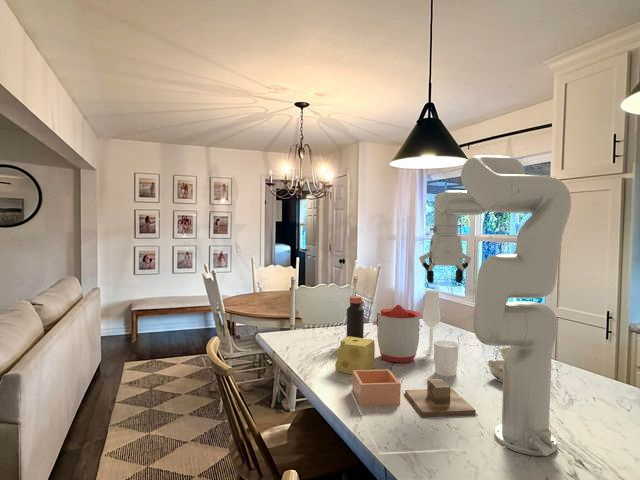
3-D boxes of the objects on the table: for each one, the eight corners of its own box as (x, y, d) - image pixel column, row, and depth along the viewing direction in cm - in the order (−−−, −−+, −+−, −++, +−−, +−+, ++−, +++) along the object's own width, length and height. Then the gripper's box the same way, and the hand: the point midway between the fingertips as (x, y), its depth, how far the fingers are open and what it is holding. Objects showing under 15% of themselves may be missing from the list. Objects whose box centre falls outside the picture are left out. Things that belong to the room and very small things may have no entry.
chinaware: (498, 363, 151) (494, 318, 151) (550, 367, 142) (545, 319, 142) (486, 389, 127) (481, 335, 127) (547, 395, 118) (542, 338, 118)
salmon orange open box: (400, 405, 110) (400, 383, 110) (360, 406, 109) (360, 384, 109) (388, 389, 121) (389, 369, 121) (352, 390, 120) (352, 370, 120)
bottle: (363, 344, 168) (364, 295, 167) (363, 348, 161) (364, 298, 161) (346, 343, 169) (347, 295, 168) (346, 348, 162) (346, 298, 161)
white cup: (459, 379, 130) (460, 348, 130) (434, 376, 132) (434, 346, 131) (456, 370, 138) (457, 341, 138) (432, 368, 139) (433, 339, 139)
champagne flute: (433, 356, 153) (434, 292, 153) (418, 351, 159) (419, 290, 158) (443, 352, 158) (444, 291, 157) (428, 348, 163) (430, 288, 162)
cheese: (335, 372, 135) (335, 342, 135) (348, 362, 145) (348, 334, 144) (364, 377, 130) (364, 346, 130) (375, 367, 140) (376, 338, 140)
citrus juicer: (377, 349, 161) (378, 299, 160) (422, 355, 154) (423, 302, 154) (366, 361, 146) (367, 305, 146) (415, 368, 140) (416, 310, 139)
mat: (478, 416, 104) (478, 415, 104) (421, 418, 102) (421, 417, 102) (452, 392, 119) (452, 391, 119) (402, 394, 117) (402, 393, 117)
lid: (475, 414, 104) (475, 392, 104) (422, 416, 103) (423, 394, 103) (451, 392, 118) (452, 373, 118) (405, 394, 117) (405, 374, 117)
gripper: (424, 230, 129) (423, 284, 130) (476, 231, 131) (475, 284, 132) (416, 230, 137) (415, 281, 137) (465, 231, 139) (464, 281, 139)
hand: (444, 282), depth 134 cm, fingers open, 9 cm apart
